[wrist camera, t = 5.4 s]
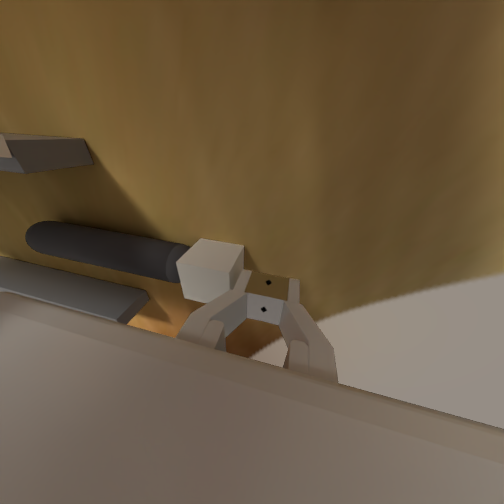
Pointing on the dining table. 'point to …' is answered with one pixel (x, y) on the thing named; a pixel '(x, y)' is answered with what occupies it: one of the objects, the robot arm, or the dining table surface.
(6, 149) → the cover
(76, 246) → the white-capped dark rod
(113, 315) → the grey flat frame
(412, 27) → the dining table surface
